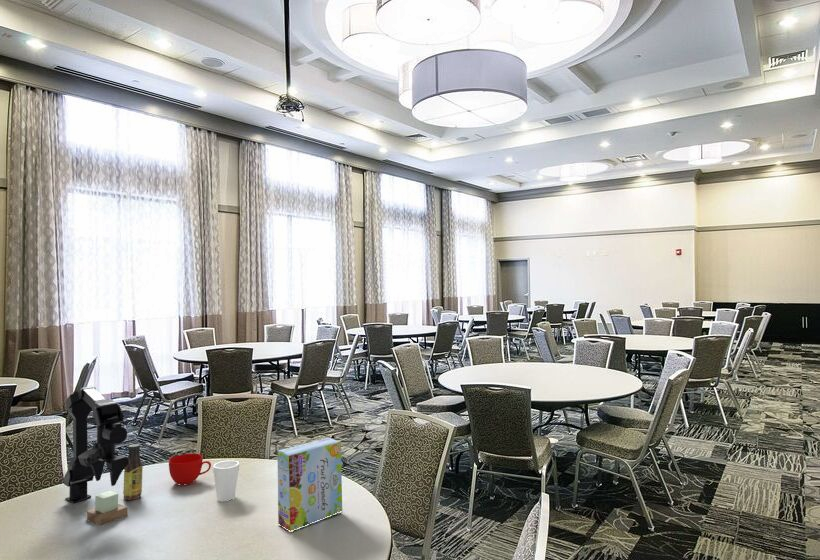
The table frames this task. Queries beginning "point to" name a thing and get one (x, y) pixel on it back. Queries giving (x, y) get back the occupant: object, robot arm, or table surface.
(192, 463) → the ceramic cup
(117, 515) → the walnut block
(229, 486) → the foam cup
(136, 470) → the sauce bottle
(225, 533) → the table surface
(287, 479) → the snack box
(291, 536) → the table surface
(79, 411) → the robot arm
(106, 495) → the sage cube
